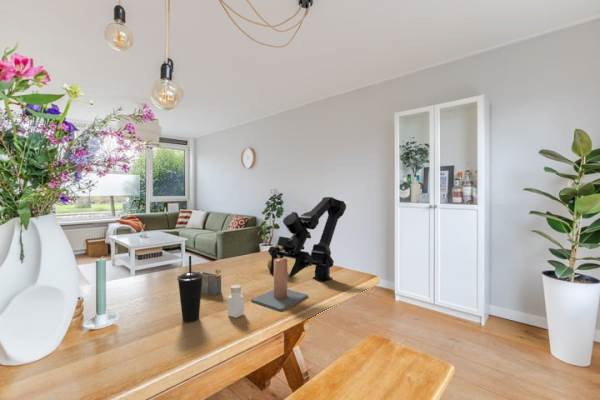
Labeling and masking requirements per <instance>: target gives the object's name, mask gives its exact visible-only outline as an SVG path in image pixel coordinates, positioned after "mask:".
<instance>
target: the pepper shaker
mask: <svg viewBox="0 0 600 400" xmlns="http://www.w3.org/2000/svg"><path fill="white" fill-rule="evenodd" d="M241 290H242V286H241V285H240V284H233V285H231V286H230V295H229V296H228V297H227V316H229V317H231V318H235V319H236V318H239V317H241V316H243V315H244V314H245V296H244V295H242V294H241V293H242V291H241Z"/></svg>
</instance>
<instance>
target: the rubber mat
mask: <svg viewBox="0 0 600 400" xmlns="http://www.w3.org/2000/svg"><path fill="white" fill-rule="evenodd" d="M308 297H309V294H307V293H303V292H299V291H295V290H292V289H288V288H287V298H286V299H281V300H279V299H275V298H274V289H272V290H269V291H267V292H266V293H263V294H260V295H258V296H256V297H254V298H251V302H252V303H255V304H258V305H260V306H264V307H265V308H266V307H268V308H270V309H273V310H276V311H279V312H282V311H284V310H286V309H288V308H290V307H292V306H294V305H296V304H297V303H299V302H301V301H303V300H304V299H306V298H308Z"/></svg>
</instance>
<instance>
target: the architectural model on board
mask: <svg viewBox="0 0 600 400" xmlns="http://www.w3.org/2000/svg"><path fill="white" fill-rule="evenodd" d="M197 272H198V273H201V271H197ZM214 272H215V273H212V272H211V273H210V272H205V271H202V274H203V278H202V287H201V293H203V294H208V295H212V296H213V295H214V296H218V295H220V294H222V274H220V273H221V272H222V269H220V270H219V269H218V268H216V269H215V271H214ZM219 274H220V275H219Z"/></svg>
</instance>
